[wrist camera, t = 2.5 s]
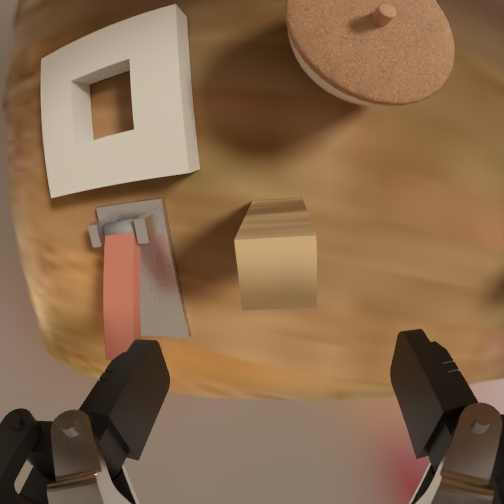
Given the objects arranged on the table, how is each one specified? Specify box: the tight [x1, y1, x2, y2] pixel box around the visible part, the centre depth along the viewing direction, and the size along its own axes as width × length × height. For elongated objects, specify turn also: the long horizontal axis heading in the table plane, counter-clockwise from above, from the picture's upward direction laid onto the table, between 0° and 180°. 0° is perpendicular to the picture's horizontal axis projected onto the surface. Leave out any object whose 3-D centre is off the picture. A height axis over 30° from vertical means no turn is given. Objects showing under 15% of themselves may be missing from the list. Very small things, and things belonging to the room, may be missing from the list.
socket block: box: [41, 4, 200, 198], centre depth 20 cm, size 14×14×3 cm
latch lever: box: [103, 219, 141, 360], centre depth 23 cm, size 12×3×2 cm, turn 4°
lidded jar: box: [285, 0, 454, 107], centre depth 14 cm, size 11×11×9 cm
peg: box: [234, 198, 317, 310], centre depth 20 cm, size 4×4×10 cm
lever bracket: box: [88, 198, 191, 338], centre depth 26 cm, size 14×7×3 cm, turn 5°
